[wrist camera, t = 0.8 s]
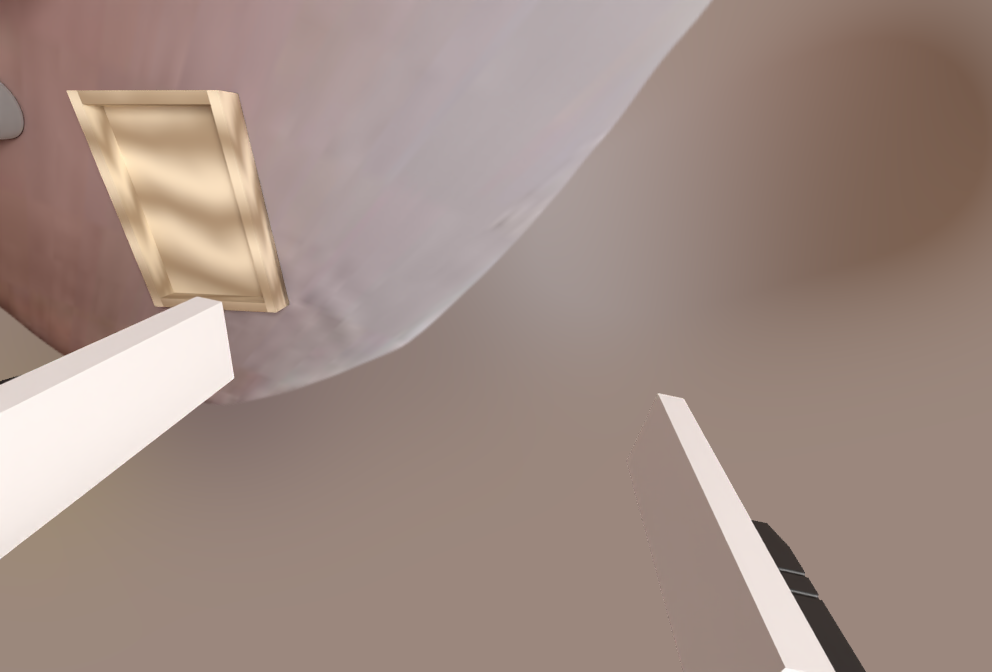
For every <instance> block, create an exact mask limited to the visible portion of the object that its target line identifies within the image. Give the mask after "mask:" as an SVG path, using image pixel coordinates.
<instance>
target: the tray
mask: <svg viewBox="0 0 992 672" xmlns="http://www.w3.org/2000/svg"><path fill="white" fill-rule="evenodd" d="M67 93H68V96H69V98H70V101H71V103H72V105H73V108H74V110H75V113H76V115H77V118H78V120H79V122H80V125H81V127H82V130H83V132H84V135H85V137H86V139H87V142H88V144H89V147H90V149H91V152H92V154H93V156H94V159H95V161H96V164H97V166H98V169H99V171H100V174H101V176H102V178H103V181H104V183H105V186H106V188H107V191H108V193H109V195H110V198H111V200H112V203H113V205H114V208H115V210H116V212H117V215H118V217H119V220H120V222H121V225H122V227H123V229H124V232H125V234H126V237H127V239H128V242H129V244H130V246H131V249H132V251H133V254H134V256H135V259H136V261H137V263H138V266H139V268H140V271H141V273H142V276H143V278H144V281H145V283H146V285H147V288H148V290H149V293H150V295H151V298H152V300H153V302H154V305H155V306H157V307H174V306H177V305H179V304H181V303H183V302H186V301H188V300H190V299H192V298H194V297H202V298H207V299H211V300H216V301H221V302H222V305H223V310H236V311H255V312H275V313H276V312H278V311H280V310H281V309H283V308H284V307H286V306H287V305H289V300H288V296H287V292H286V288H285V284H284V280H283V276H282V272H281V268H280V263H279V259H278V255H277V251H276V247H275V243H274V239H273V235H272V231H271V227H270V223H269V218H268V214H267V210H266V206H265V202H264V198H263V194H262V190H261V186H260V182H259V178H258V174H257V169H256V165H255V161H254V157H253V153H252V149H251V145H250V141H249V137H248V133H247V129H246V124H245V120H244V116H243V112H242V108H241V104H240V100H239V96H238V94H237V93H231V92H225V91H219V90H109V91H67Z"/></svg>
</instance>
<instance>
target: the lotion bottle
mask: <svg viewBox="0 0 992 672" xmlns="http://www.w3.org/2000/svg"><path fill="white" fill-rule="evenodd" d="M23 126H24V119H23V114H22V111H21V108H20V106H19V104H18V102H17V101H16V99H15V97H14V96H13V95H12V93H11V92H10V91H9V90H8V89H7V88H6V87H5V86H4V85H3V84H2V83H1V82H0V139H12V138H15V137H17V136H19V135H20V133H21V132H22V130H23Z"/></svg>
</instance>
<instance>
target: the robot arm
mask: <svg viewBox="0 0 992 672" xmlns="http://www.w3.org/2000/svg"><path fill="white" fill-rule="evenodd" d="M233 379H234V373H233V367H232V361H231V355H230V348H229V342H228V336H227V330H226V324H225V318H224V311H223V305H222V302H221V301H216V300H211V299H207V298H202V297H194V298H192V299H190V300H188V301H186V302H183V303H181V304H179V305H177V306H174V307H172V308H170V309H168V310H166V311H163V312H161V313H159V314H157V315H154V316H152V317H150V318H148V319H146V320H143V321H141V322H139V323H137V324H134V325H132V326H130V327H128V328H126V329H123V330H121V331H119V332H117V333H114V334H112V335H110V336H108V337H106V338H103V339H101V340H99V341H97V342H94V343H92V344H90V345H88V346H86V347H83V348H81V349H79V350H77V351H74V352H72V353H70V354H68V355H66V356H63V357H61V358H59V359H57V360H54V361H52V362H50V363H48V364H46V365H43V366H41V367H39V368H37V369H34V370H32V371H30V372H28V373H26V374H23V375H20V376H17V377H13V378H9V379H6V380H2V381H0V558H2V557H3V556H4V555H6V554H7V553H8V552H10V551H11V550H12V549H14V548H15V547H16V546H17V545H19V544H20V543H21V542H23V541H24V540H25V539H27V538H28V537H29V536H30V535H32V534H33V533H34V532H36V531H37V530H38V529H39V528H41V527H42V526H43V525H45V524H46V523H47V522H48V521H50V520H51V519H52V518H54V517H55V516H56V515H57V514H59V513H60V512H61V511H63V510H64V509H65V508H67V507H68V506H69V505H71V504H72V503H73V502H74V501H76V500H77V499H78V498H80V497H81V496H82V495H84V494H85V493H86V492H87V491H89V490H90V489H91V488H93V487H94V486H95V485H96V484H98V483H99V482H100V481H101V480H103V479H104V478H105V477H107V476H108V475H109V474H111V473H112V472H113V471H114V470H116V469H117V468H119V467H120V466H121V465H122V464H124V463H125V462H126V461H127V460H129V459H130V458H131V457H133V456H134V455H135V454H137V453H138V452H139V451H140V450H142V449H143V448H144V447H146V446H147V445H148V444H149V443H151V442H152V441H154V440H155V439H156V438H157V437H159V436H160V435H161V434H162V433H164V432H165V431H166V430H168V429H169V428H170V427H172V426H173V425H174V424H175V423H177V422H178V421H179V420H181V419H182V418H183V417H185V416H186V415H187V414H188V413H190V412H191V411H192V410H194V409H195V408H196V407H198V406H199V405H200V404H201V403H203V402H204V401H205V400H207V399H208V398H209V397H211V396H212V395H213V394H214V393H216V392H217V391H218V390H220V389H221V388H222V387H223V386H225V385H226V384H227V383H229V382H230V381H231V380H233ZM627 465H628V469H629V472H630V476H631V479H632V484H633V487H634V491H635V494H636V498H637V502H638V506H639V509H640V513H641V517H642V521H643V524H644V528H645V532H646V536H647V539H648V543H649V546H650V551H651V554H652V558H653V562H654V565H655V569H656V573H657V577H658V580H659V584H660V588H661V591H662V595H663V599H664V603H665V606H666V610H667V614H668V618H669V621H670V625H671V629H672V633H673V636H674V640H675V644H676V648H677V651H678V655H679V659H680V662H681V666H682V670H683V672H866V671H865V670H864V668H863V666H862V665H861V663H860V661H859V660H858V658H857V657H856V655H855V653H854V652H853V650H852V648H851V647H850V645H849V644H848V642H847V640H846V639H845V637H844V635H843V634H842V632H841V631H840V629H839V627H838V626H837V624H836V622H835V621H834V619H833V617H832V616H831V614H830V613H829V611H828V609H827V608H826V606H825V604H824V603H823V601H822V600H819V598H818V593H817V591H816V590H815V588H814V586H813V585H812V583H811V582H810V580H809V578H807V577H805V572H804V570H803V568H802V567H801V565H800V564H799V562H798V560H797V559H796V557H795V555H794V554H793V552H792V551H791V549H790V547H789V546H788V545H787V544H786V543H785V542H784V541H783V540H782V539H781V538H780V537H779V536H778V535H777V534H776V532H775V531H774V530H773V529H772V528H771V527H770V526H769V525H768V524H767V523H763V522H758V521H753V520H751V519H750V517H749V515H748V514H747V512H746V510H745V508H744V506H743V505H742V503H741V501H740V499H739V497H738V496H737V494H736V492H735V490H734V488H733V487H732V485H731V483H730V481H729V479H728V478H727V476H726V474H725V472H724V470H723V469H722V467H721V465H720V463H719V462H718V460H717V458H716V456H715V454H714V452H713V451H712V449H711V447H710V445H709V443H708V442H707V440H706V438H705V436H704V435H703V433H702V431H701V429H700V427H699V426H698V424H697V422H696V420H695V418H694V416H693V415H692V413H691V411H690V409H689V407H688V406H687V404H686V402H685V400H684V399H683V398H678V397H674V396H669V395H664V394H659V393H658V394H657V396H656V398H655V400H654V403H653V405H652V407H651V409H650V411H649V414H648V416H647V418H646V420H645V422H644V425H643V427H642V429H641V431H640V433H639V435H638V438H637V440H636V442H635V444H634V446H633V448H632V450H631V453H630V455H629V457H628V459H627Z"/></svg>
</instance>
